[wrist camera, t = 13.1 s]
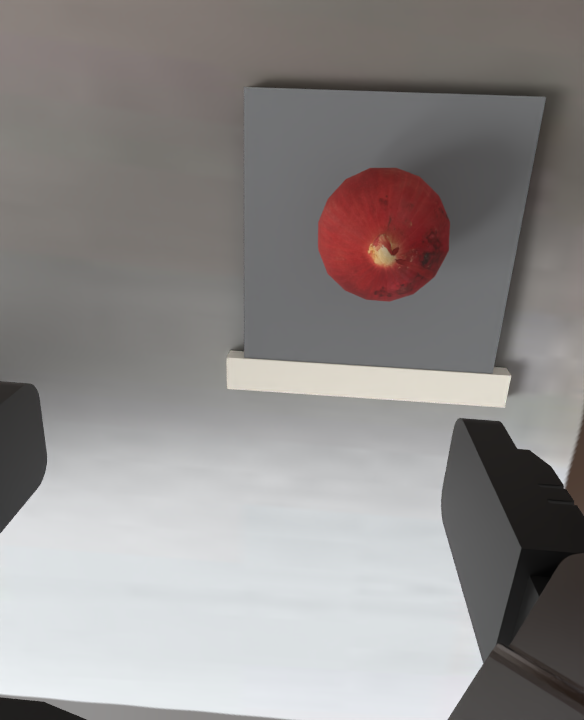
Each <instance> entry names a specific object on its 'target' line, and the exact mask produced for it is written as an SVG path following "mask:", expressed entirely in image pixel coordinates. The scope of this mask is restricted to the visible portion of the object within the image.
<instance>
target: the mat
mask: <svg viewBox="0 0 584 720" xmlns="http://www.w3.org/2000/svg"><path fill="white" fill-rule="evenodd" d="M545 100H546V97H535V96H504V95H474V94H443V93H413V92H382V91H351V90H321V89H290V88H259V87H244V351H232V350H230V352H229V354H228V356H227V389H236V390H251V391H266V392H281V393H296V394H310V395H325V396H340V397H355V398H370V399H384V400H399V401H414V402H429V403H444V404H458V405H473V406H488V407H503V408H505V404H506V399H507V394H508V390H509V385H510V380H511V374H510V373H509V371H508V370H507V368H502V367H494V364H495V359H496V354H497V348H498V343H499V338H500V333H501V328H502V323H503V317H504V312H505V307H506V302H507V297H508V292H509V286H510V281H511V276H512V271H513V266H514V261H515V255H516V250H517V245H518V240H519V235H520V230H521V224H522V219H523V214H524V209H525V204H526V199H527V193H528V188H529V183H530V178H531V173H532V168H533V162H534V157H535V152H536V147H537V142H538V137H539V131H540V126H541V121H542V116H543V111H544V106H545ZM369 168H398V169H401V170H404V171H406V172H409V173H411V174H414V175H417V176H419V177H421V178H422V179H423V180H424V181H425V182H426V183H427V184H428V185H429V186H430V187H431V188H432V189H433V190H434V191H435V192H436V193H437V194H438V195H439V197H440V199H441V201H442V204H443V206H444V208H445V211H446V213H447V216H448V218H449V221H450V234H449V251H448V253H447V255H446V257H445V259H444V261H443V263H442V264H441V266H440V268H439V270H438V272H437V274H436V276H435V277H434V278H433V279H432V280H430V281H429V282H428V283H427V284H425V285H424V286H423V287H422V288H420V289H419V290H418V291H417V292H416V293H414V294H413V295H409V296H406V297H403V298H400V299H396V300H393V301H390V302H388V301H375V300H366V299H363V298H361V297H359V296H356V295H354V294H352V293H349V292H347V291H345V290H344V289H343V288H342V287H341V286H340V285H339V284H338V283H337V282H336V281H335V280H334V279H333V278H332V277H331V276H329V275H328V273H327V271H326V268H325V266H324V263H323V260H322V258H321V255H320V253H319V250H318V222H319V219H320V217H321V214H322V212H323V209H324V207H325V204H326V202H327V200H328V198H329V197H330V196H331V195H332V194H333V193H334V191H335V190H336V189H337V188H338V187H339V186H340V185H341V184H342V183H343V182H344V180H345V179H347V178H349V177H351V176H354V175H356V174H358V173H360V172H362V171H364V170H367V169H369Z"/></svg>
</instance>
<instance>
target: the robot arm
mask: <svg viewBox="0 0 584 720" xmlns="http://www.w3.org/2000/svg"><path fill="white" fill-rule="evenodd" d="M46 465H47V452H46V445H45V437H44V429H43V422H42V414H41V406H40V399H39V394H38V391H37V389H36V388H35V386H34V385H32V384H26V383H14V382H1V381H0V533H1V532H2V531H3V529H4V528H5V527H6V526H7V525H8V523H9V522H10V521H11V520H12V519H13V517H14V516H15V515H16V514H17V513H18V511H19V510H20V509H21V508H22V506H23V505H24V504H25V503H26V502H27V500H28V499H29V498H30V497H31V496H32V494H33V493H34V492H35V491H36V490H37V488H38V487H39V486H40V484H41V482H42V480H43V477H44V474H45V470H46ZM441 511H442V520H443V524H444V528H445V531H446V535H447V538H448V542H449V545H450V549H451V552H452V556H453V559H454V563H455V566H456V570H457V573H458V577H459V580H460V584H461V587H462V591H463V594H464V598H465V601H466V605H467V608H468V612H469V615H470V619H471V622H472V625H473V629H474V632H475V636H476V639H477V643H478V646H479V650H480V653H481V657H482V660H483V665H482V667H481V668H480V670H479V671H478V673H477V675H476V676H475V678H474V679H473V681H472V682H471V684H470V685H469V687H468V689H467V690H466V692H465V693H464V695H463V696H462V698H461V700H460V701H459V703H458V704H457V706H456V707H455V709H454V710H453V712H452V714H451V715H450V717H449V718H448V720H584V516H583V514H582V513H581V511H580V510H579V508H578V507H577V506H576V505H574V500H573V499H572V497H571V496H570V494H569V493H568V491H567V490H566V489H564V485H563V484H562V482H561V481H560V479H559V478H558V476H557V475H556V473H555V472H554V470H553V469H552V467H551V466H550V465H548V464H547V463H546V462H544V461H543V460H542V459H540V458H539V457H538V456H536V455H535V454H534V453H532V452H531V451H530V450H523V449H517V448H516V446H515V444H514V443H513V441H512V439H511V437H510V436H509V434H508V432H507V431H506V429H505V427H504V426H503V424H502V423H501V422H500V421H489V420H476V419H464V418H459V419H458V420H457V421H456V423H455V426H454V430H453V435H452V440H451V445H450V451H449V456H448V461H447V467H446V472H445V477H444V483H443V488H442V498H441ZM0 720H86V719H84V718H81V717H79V716H77V715H74V714H72V713H69V712H67V711H64V710H62V709H60V708H57V707H55V706H52V705H50V704H47V703H45V702H40V701H30V700H20V699H9V698H0Z"/></svg>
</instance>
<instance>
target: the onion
mask: <svg viewBox="0 0 584 720" xmlns="http://www.w3.org/2000/svg"><path fill="white" fill-rule="evenodd" d="M449 234H450V221H449V218H448V216H447V213H446V211H445V208H444V206H443V204H442V201H441V199H440V197H439V195H438V194H437V193H436V192H435V191H434V190H433V189H432V188H431V187H430V186H429V185H428V184H427V183H426V182H425V181H424V180H423V179H422V178H421V177H419V176H417V175H414V174H411V173H409V172H406V171H404V170H401V169H398V168H369V169H367V170H364V171H362V172H360V173H358V174H356V175H354V176H351V177H349V178H347V179H345V180H344V182H343V183H342V184H341V185H340V186H339V187H338V188H337V189H336V190H335V191H334V193H333V194H332V195H331V196H330V197H329V198H328V200H327V202H326V204H325V207H324V209H323V212H322V214H321V217H320V219H319V222H318V250H319V253H320V255H321V258H322V260H323V263H324V266H325V268H326V271H327V273H328V275H329V276H331V277H332V278H333V279H334V280H335V281H336V282H337V283H338V284H339V285H340V286H341V287H342V288H343V289H344V290H345V291H347V292H349V293H352V294H354V295H356V296H359V297H361V298H363V299H366V300H375V301H388V302H390V301H393V300H396V299H400V298H403V297H406V296H409V295H413V294H414V293H416V292H417V291H418V290H419V289H420V288H422V287H423V286H424V285H425V284H427V283H428V282H429V281H430V280H432V279H433V278H434V277H435V276H436V274H437V272H438V270H439V268H440V266H441V264H442V263H443V261H444V259H445V257H446V255H447V253H448V251H449Z"/></svg>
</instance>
